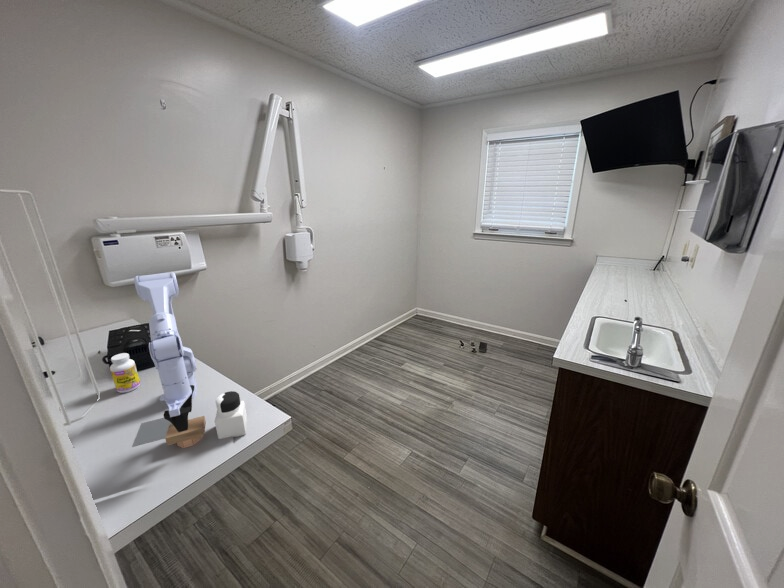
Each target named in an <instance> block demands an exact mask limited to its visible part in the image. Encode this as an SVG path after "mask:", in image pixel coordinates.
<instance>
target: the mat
mask: <svg viewBox="0 0 784 588" xmlns="http://www.w3.org/2000/svg"><path fill="white" fill-rule="evenodd" d="M170 424H172V423H171V422H170V421H168V420H166V419H165V418H164V417H162V418H161V417H160V418H158V419H153V420H148V421H145V422H141V424H140V427H139V428H138V432H137V433H136V436H135V438H134V440H133V444H132V445H131V447H132V448H134V447H137V446H142V445H144V444H145V445H146V444H148V443H153V442H156V441H160V440H165V438H166V434H167V431H168V427H169V425H170Z"/></svg>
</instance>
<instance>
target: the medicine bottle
mask: <svg viewBox="0 0 784 588" xmlns="http://www.w3.org/2000/svg"><path fill="white" fill-rule="evenodd" d="M215 405H216V413H215V418H214V425H215V429H216V435H217V439H218V440H222V439H227V438H230V437H232V438H237V437H241V436H245V435H246V434H247V425H248V414H247V411H246V404H245V401H244V400H241V397H240V393H238V392H237V391H233V390H231V391H227V392H223V393H221V394H219V396H217V398H215Z"/></svg>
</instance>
